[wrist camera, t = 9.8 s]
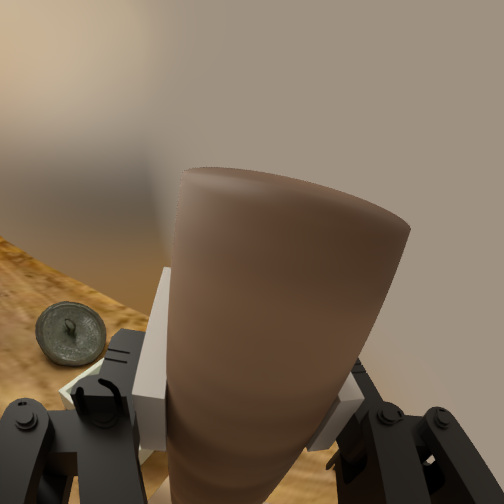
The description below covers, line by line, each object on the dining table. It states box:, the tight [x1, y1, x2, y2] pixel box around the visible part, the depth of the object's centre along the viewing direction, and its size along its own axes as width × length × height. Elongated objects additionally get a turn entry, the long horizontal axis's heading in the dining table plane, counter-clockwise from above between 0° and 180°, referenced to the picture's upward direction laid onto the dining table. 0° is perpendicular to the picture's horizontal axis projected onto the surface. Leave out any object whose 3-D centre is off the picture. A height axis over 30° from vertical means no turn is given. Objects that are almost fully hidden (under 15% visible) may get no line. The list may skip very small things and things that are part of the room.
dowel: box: [166, 167, 411, 504], centre depth 8 cm, size 4×4×15 cm
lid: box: [35, 301, 106, 367], centre depth 33 cm, size 11×10×5 cm
